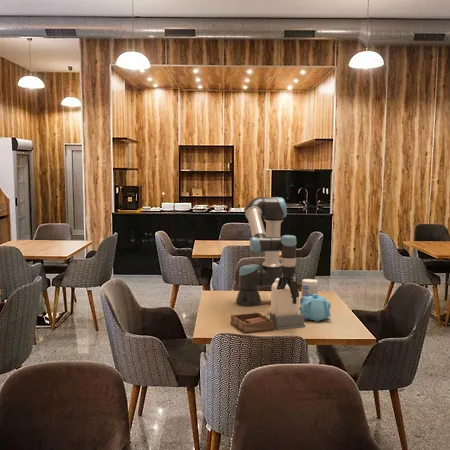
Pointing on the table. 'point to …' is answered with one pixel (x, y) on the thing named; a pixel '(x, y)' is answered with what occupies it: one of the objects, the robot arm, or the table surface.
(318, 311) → the decorative pot
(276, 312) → the tall board
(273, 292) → the white jar
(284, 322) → the slot holder
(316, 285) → the supplement tub
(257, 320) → the cherry offcut
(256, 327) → the brown wooden tray
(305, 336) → the table surface
